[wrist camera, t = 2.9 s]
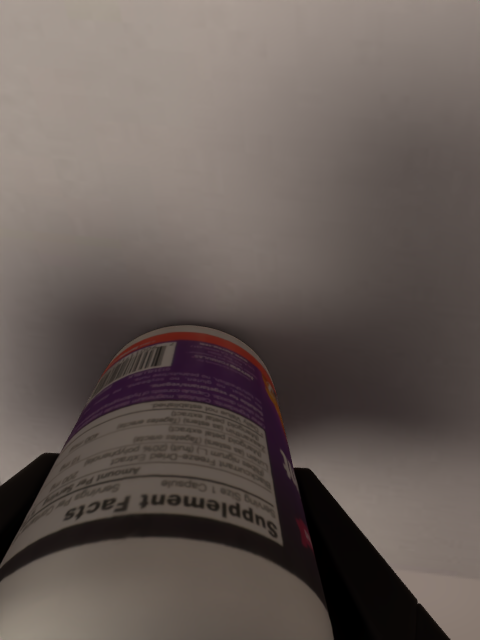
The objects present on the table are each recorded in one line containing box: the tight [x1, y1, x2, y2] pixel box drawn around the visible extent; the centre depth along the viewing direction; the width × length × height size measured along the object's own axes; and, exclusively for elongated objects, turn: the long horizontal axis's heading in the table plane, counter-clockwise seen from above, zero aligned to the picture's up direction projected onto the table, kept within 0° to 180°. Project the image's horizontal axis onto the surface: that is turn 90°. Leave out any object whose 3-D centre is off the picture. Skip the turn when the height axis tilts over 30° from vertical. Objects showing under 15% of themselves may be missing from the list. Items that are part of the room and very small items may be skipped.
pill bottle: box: [0, 325, 334, 640], centre depth 7 cm, size 5×5×10 cm
